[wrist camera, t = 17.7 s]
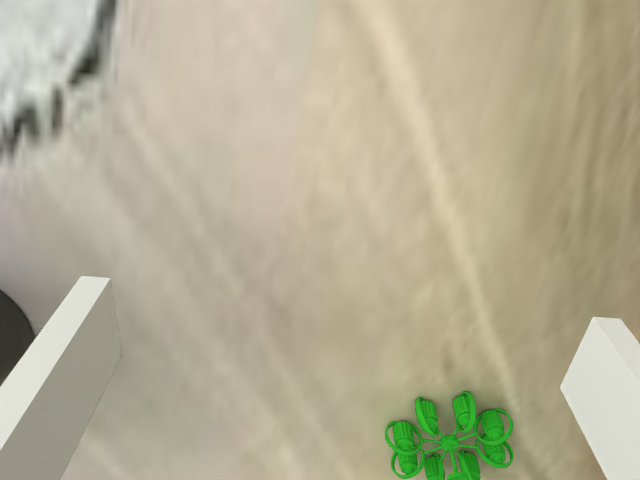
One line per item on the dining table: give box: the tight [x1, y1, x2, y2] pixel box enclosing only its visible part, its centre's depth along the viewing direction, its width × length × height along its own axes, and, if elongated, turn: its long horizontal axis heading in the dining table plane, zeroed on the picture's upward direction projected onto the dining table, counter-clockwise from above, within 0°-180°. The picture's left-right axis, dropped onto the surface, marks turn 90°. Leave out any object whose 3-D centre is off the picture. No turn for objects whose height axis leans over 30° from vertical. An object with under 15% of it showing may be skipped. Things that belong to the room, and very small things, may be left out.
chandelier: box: [385, 392, 514, 480], centre depth 56 cm, size 15×15×7 cm
